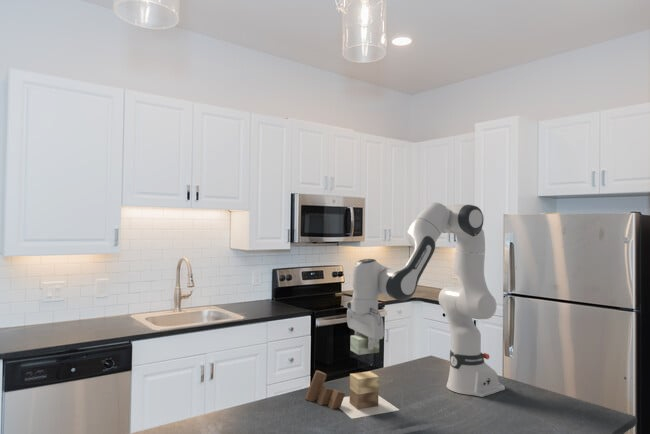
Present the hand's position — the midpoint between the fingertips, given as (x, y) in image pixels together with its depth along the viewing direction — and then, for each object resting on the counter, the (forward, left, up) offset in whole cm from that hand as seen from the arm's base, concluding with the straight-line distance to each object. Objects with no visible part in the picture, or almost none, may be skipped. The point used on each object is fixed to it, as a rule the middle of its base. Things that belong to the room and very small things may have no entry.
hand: (364, 346), depth 154 cm
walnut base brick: (0, 0, -20) cm, 20 cm away
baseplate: (0, 0, -21) cm, 21 cm away
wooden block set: (+12, -10, -21) cm, 26 cm away
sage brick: (0, 0, -2) cm, 2 cm away
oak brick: (0, 0, -15) cm, 15 cm away
